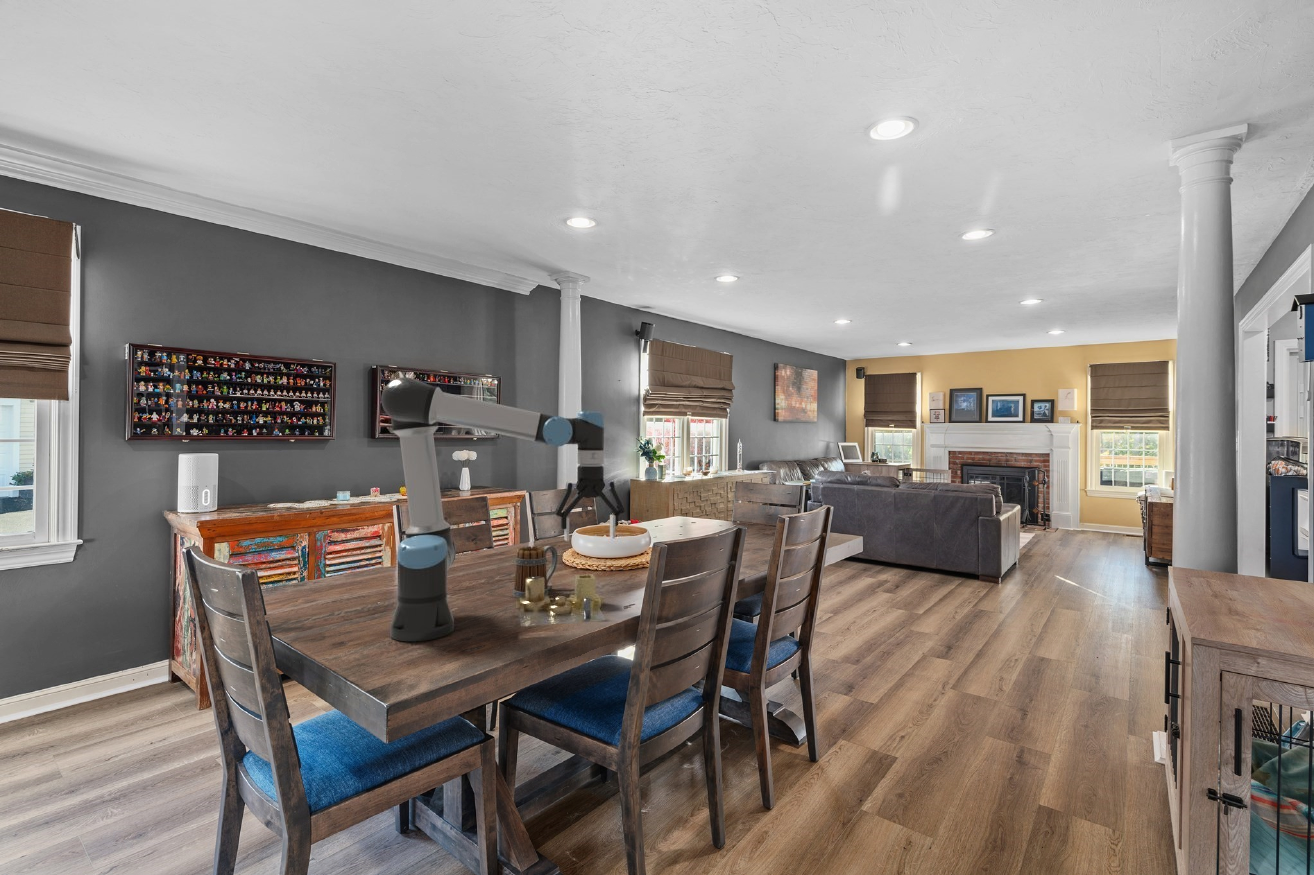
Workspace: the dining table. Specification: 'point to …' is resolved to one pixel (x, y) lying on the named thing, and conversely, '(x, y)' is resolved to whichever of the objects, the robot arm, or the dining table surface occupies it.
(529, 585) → the carrier
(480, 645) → the dining table surface
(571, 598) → the gear
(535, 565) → the mug
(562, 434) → the robot arm
